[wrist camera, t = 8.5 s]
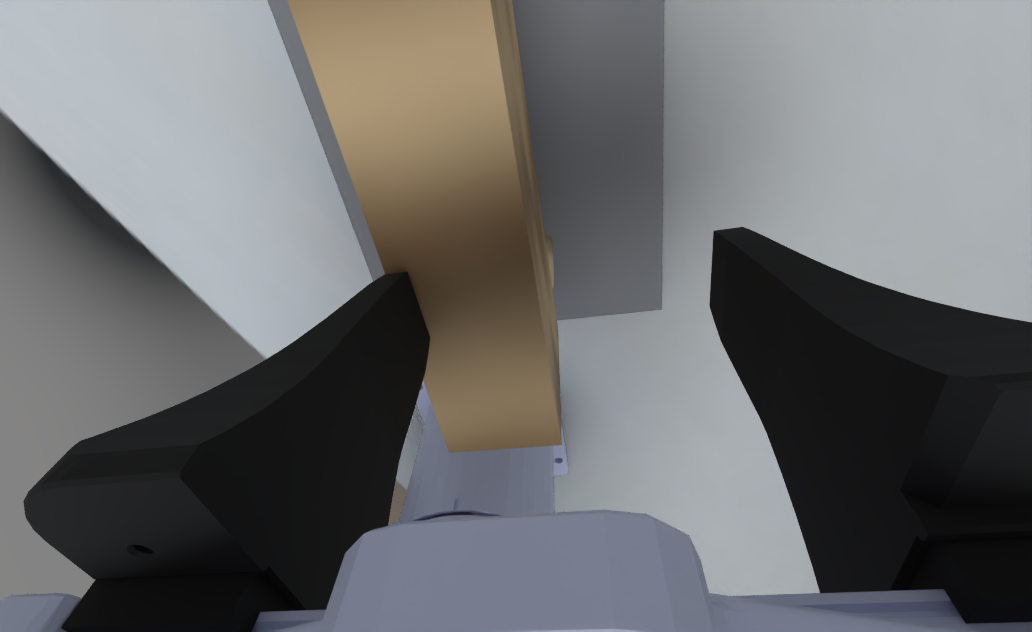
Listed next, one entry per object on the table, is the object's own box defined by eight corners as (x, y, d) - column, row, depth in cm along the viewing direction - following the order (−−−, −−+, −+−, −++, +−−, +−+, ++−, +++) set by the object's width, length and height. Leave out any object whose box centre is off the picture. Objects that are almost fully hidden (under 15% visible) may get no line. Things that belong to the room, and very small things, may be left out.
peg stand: (657, 295, 24) (675, 350, 21) (400, 322, 26) (377, 377, 22) (657, -242, 14) (694, -310, 10) (233, -139, 16) (145, -168, 12)
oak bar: (557, 329, 20) (561, 445, 15) (471, 337, 21) (449, 452, 16) (495, -119, 12) (462, -173, 7) (359, -88, 13) (243, -121, 8)
